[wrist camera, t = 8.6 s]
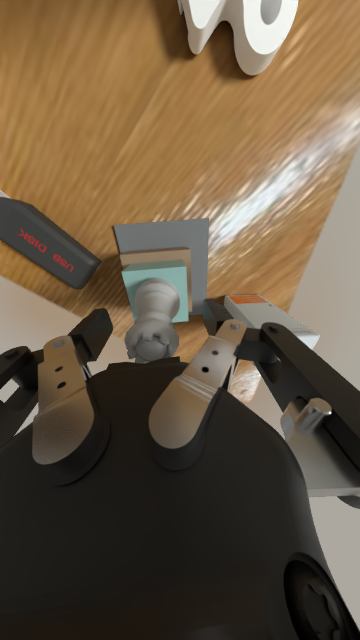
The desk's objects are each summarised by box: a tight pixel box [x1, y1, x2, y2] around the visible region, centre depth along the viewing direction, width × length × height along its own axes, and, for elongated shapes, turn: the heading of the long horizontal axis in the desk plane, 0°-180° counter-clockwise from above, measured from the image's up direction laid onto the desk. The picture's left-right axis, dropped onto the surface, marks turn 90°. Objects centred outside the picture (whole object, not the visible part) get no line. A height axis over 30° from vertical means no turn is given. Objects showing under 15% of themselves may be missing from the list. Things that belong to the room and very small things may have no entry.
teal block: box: [122, 260, 188, 322], centre depth 17 cm, size 6×6×4 cm
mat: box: [114, 218, 209, 316], centre depth 22 cm, size 14×12×1 cm
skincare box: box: [224, 294, 319, 366], centre depth 20 cm, size 6×4×12 cm
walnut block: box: [120, 247, 192, 312], centre depth 20 cm, size 8×8×4 cm
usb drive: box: [0, 190, 102, 289], centre depth 18 cm, size 5×12×3 cm, turn 45°
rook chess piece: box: [125, 278, 180, 364], centre depth 11 cm, size 4×4×8 cm
